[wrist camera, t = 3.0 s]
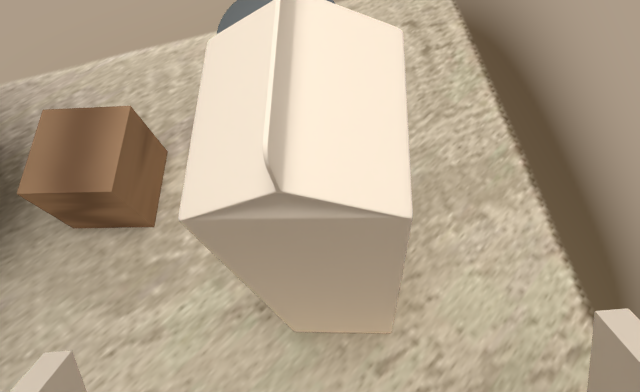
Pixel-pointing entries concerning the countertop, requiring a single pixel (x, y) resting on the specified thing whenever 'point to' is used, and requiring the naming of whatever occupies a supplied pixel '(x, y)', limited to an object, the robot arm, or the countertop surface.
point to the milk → (305, 163)
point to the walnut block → (95, 168)
